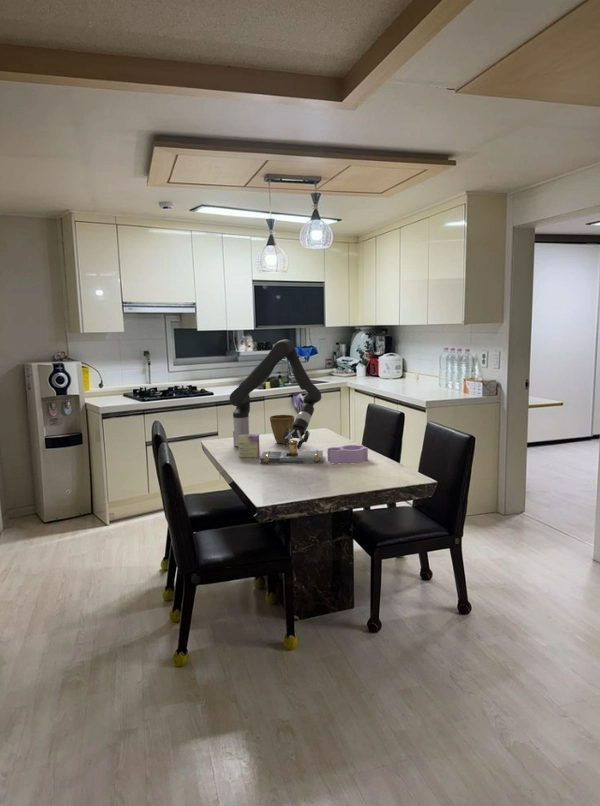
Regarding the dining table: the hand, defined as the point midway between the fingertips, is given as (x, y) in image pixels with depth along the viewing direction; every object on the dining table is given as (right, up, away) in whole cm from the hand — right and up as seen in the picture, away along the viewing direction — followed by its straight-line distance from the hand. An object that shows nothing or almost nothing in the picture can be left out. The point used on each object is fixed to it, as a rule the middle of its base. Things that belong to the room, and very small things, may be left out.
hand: (291, 447), depth 271 cm
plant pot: (-6, -1, +42) cm, 42 cm away
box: (-23, -6, +12) cm, 27 cm away
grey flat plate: (+1, -7, +2) cm, 7 cm away
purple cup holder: (+29, -7, -2) cm, 30 cm away
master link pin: (+1, -7, +2) cm, 7 cm away
